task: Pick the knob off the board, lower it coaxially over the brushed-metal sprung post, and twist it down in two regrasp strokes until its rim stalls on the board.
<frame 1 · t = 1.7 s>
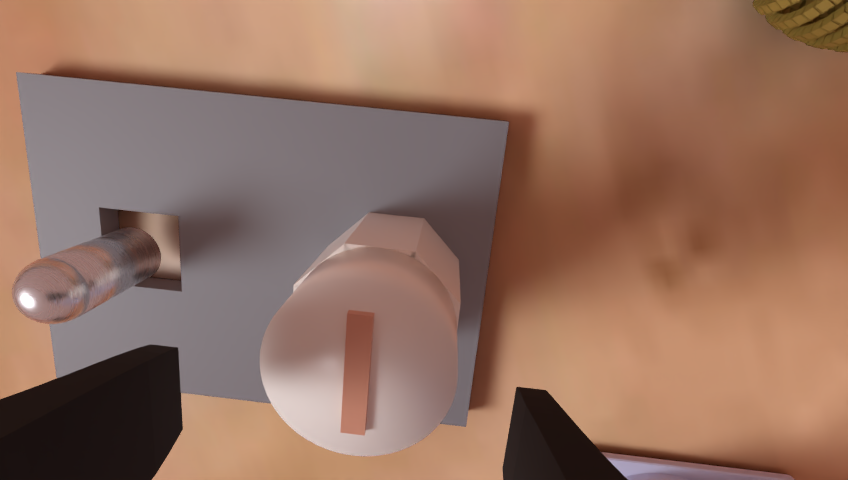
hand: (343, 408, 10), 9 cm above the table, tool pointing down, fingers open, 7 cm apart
post: (88, 274, 15), point 4 cm above the table, slide at 0.0 cm
knob: (391, 278, 18), point 1 cm above the table, touching board
board: (268, 255, 19), on the table
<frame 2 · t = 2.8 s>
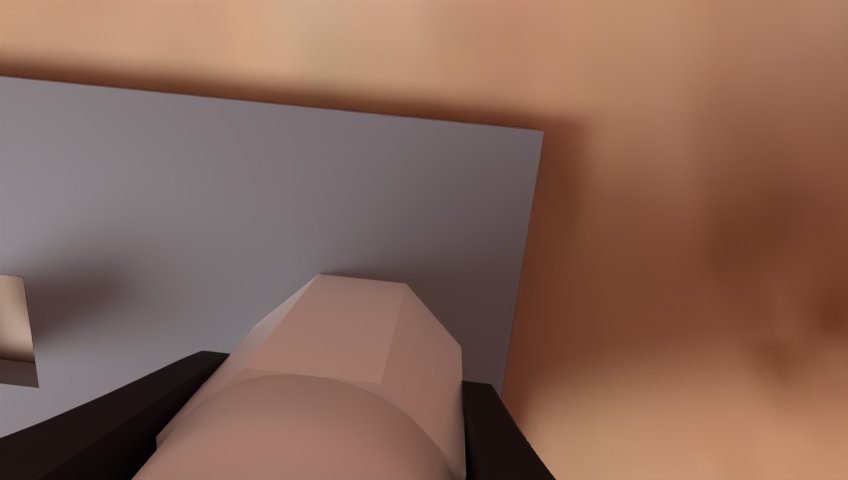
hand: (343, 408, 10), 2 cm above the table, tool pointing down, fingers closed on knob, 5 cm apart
knob: (356, 372, 11), point 1 cm above the table, touching board, gripper
board: (174, 329, 13), on the table
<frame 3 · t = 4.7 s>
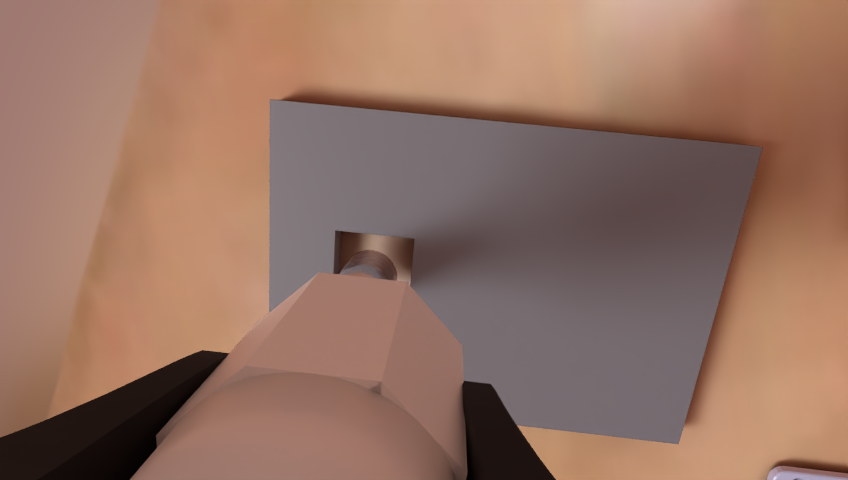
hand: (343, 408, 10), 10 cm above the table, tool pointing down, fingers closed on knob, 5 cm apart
post: (358, 299, 16), point 4 cm above the table, slide at 0.0 cm
knob: (356, 371, 11), point 8 cm above the table, touching gripper
board: (487, 275, 19), on the table
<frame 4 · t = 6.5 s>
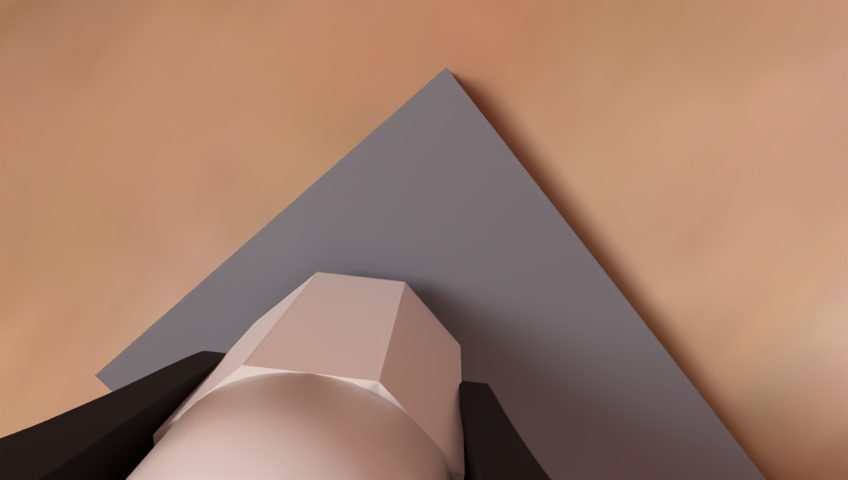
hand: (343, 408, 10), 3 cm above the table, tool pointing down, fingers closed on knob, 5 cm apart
knob: (355, 370, 11), point 2 cm above the table, touching gripper
board: (470, 449, 14), on the table
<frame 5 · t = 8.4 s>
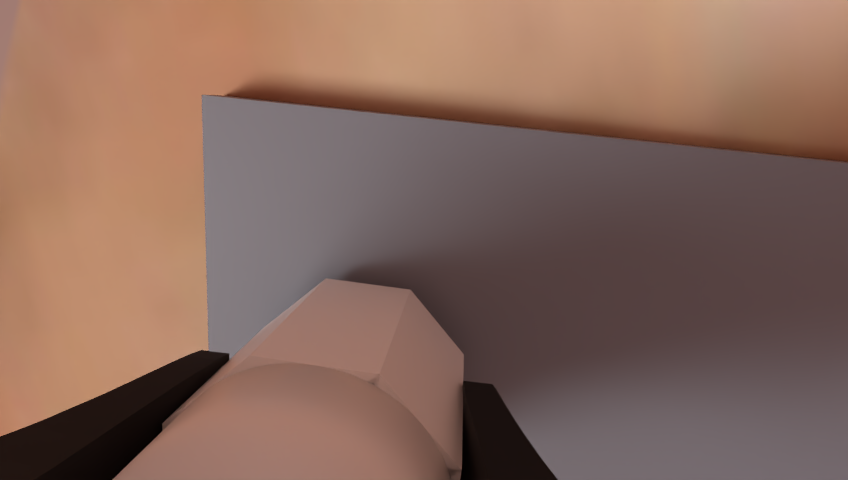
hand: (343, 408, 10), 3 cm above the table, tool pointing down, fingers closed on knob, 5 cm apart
knob: (359, 377, 12), point 2 cm above the table, touching gripper, post
board: (532, 356, 13), on the table
when the fingers open (2 cm above the table, at t = 9.6 s): knob stays where it is, resting on board.
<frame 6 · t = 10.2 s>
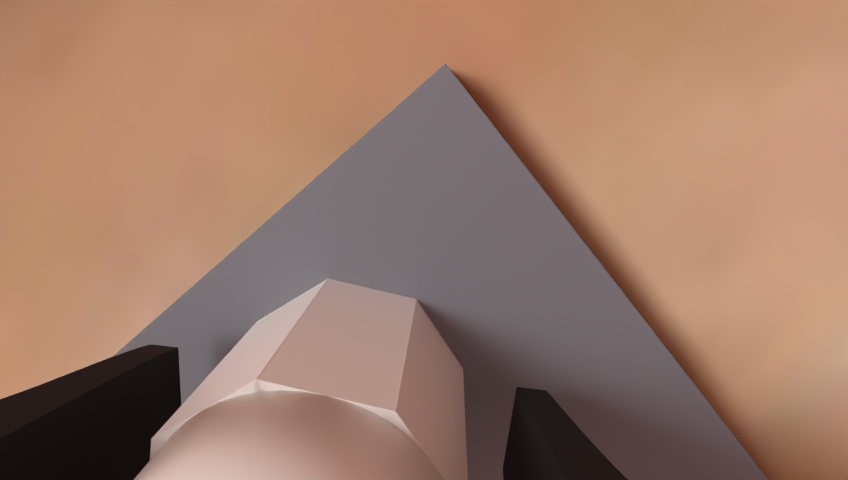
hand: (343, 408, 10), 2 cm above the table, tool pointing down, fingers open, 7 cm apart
knob: (352, 381, 11), point 1 cm above the table, touching board
board: (472, 475, 13), on the table
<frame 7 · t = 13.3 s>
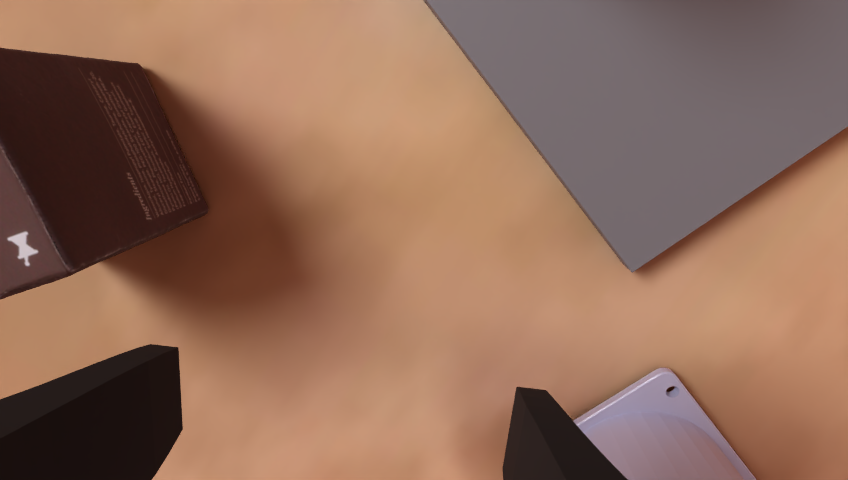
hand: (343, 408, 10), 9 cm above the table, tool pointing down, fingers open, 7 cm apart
box: (117, 163, 19), on the table
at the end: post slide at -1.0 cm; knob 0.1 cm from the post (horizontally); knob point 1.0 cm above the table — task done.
